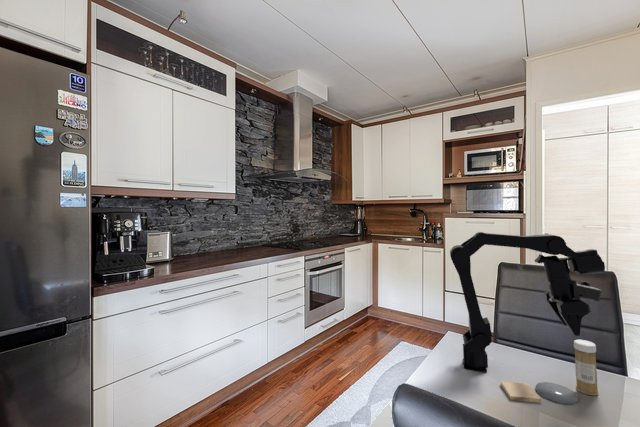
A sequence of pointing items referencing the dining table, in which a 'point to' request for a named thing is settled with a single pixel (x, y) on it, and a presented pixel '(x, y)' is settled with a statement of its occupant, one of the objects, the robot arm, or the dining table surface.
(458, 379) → the dining table surface
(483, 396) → the dining table surface
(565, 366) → the dining table surface
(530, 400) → the tan square cloth
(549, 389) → the coaster
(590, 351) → the sprinkles bottle
